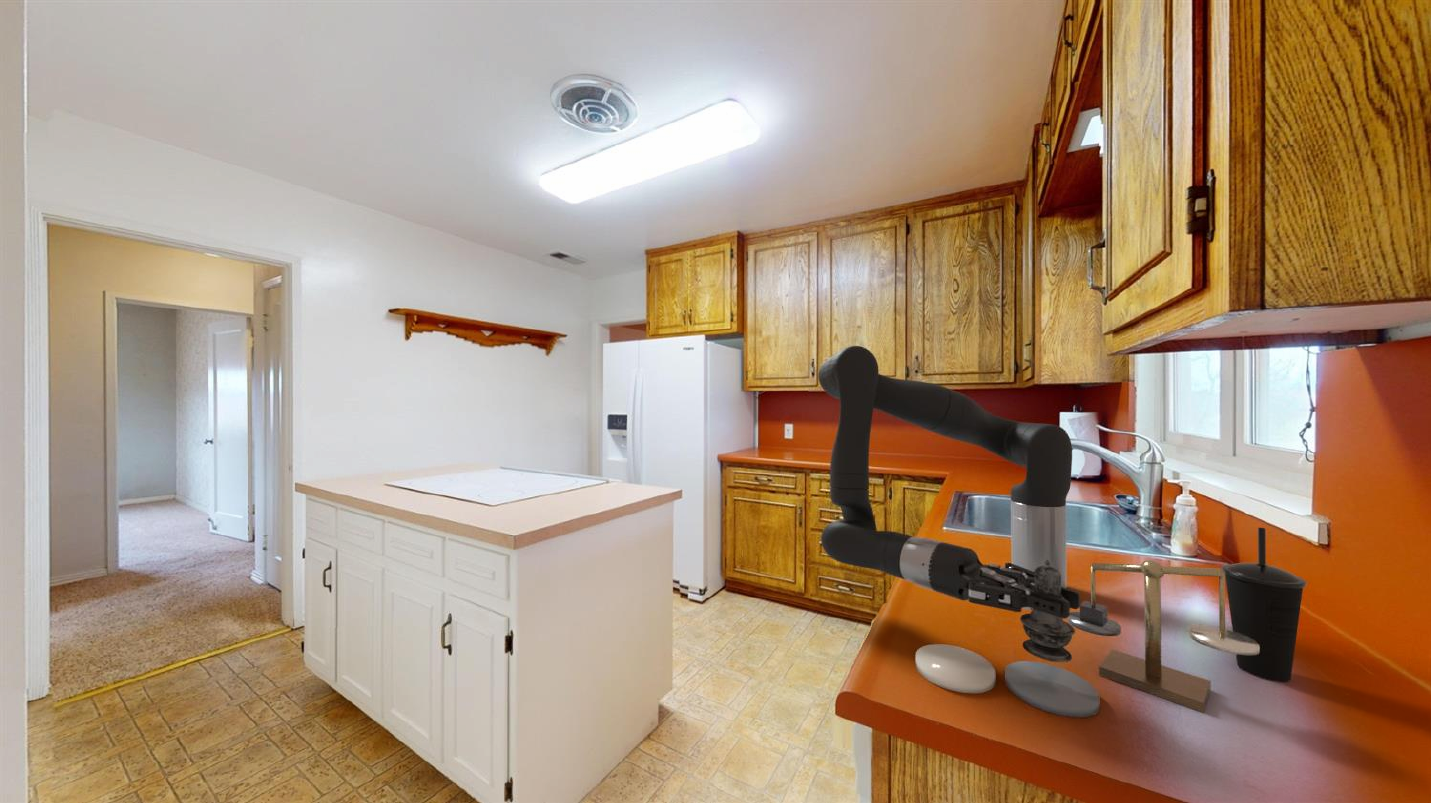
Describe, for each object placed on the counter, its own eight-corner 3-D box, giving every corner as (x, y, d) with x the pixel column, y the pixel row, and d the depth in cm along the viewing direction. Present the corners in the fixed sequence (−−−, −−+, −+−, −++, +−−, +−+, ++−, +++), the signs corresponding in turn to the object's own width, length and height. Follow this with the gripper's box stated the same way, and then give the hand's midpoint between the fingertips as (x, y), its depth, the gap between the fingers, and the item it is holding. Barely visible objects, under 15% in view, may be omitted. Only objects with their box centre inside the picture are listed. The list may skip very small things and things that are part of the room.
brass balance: (1076, 645, 72) (1074, 535, 72) (1262, 706, 57) (1260, 568, 57) (1061, 661, 68) (1060, 544, 68) (1258, 732, 53) (1256, 583, 53)
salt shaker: (1085, 666, 58) (1086, 569, 57) (1031, 660, 59) (1032, 565, 59) (1060, 641, 63) (1061, 553, 63) (1012, 637, 64) (1013, 550, 64)
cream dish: (936, 645, 73) (936, 637, 73) (1007, 674, 65) (1007, 665, 65) (901, 668, 67) (901, 659, 67) (975, 703, 59) (975, 694, 59)
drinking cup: (1271, 659, 68) (1270, 522, 68) (1326, 691, 60) (1325, 537, 60) (1207, 653, 69) (1206, 519, 69) (1253, 684, 62) (1252, 534, 62)
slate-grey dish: (1021, 661, 68) (1021, 653, 68) (1109, 694, 60) (1109, 685, 60) (992, 688, 62) (992, 679, 62) (1086, 729, 54) (1086, 719, 54)
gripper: (914, 551, 68) (1055, 589, 54) (959, 533, 77) (1090, 563, 63) (914, 602, 68) (1055, 653, 54) (959, 579, 77) (1090, 618, 63)
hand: (1073, 605), depth 59 cm, fingers closed on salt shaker, 3 cm apart
